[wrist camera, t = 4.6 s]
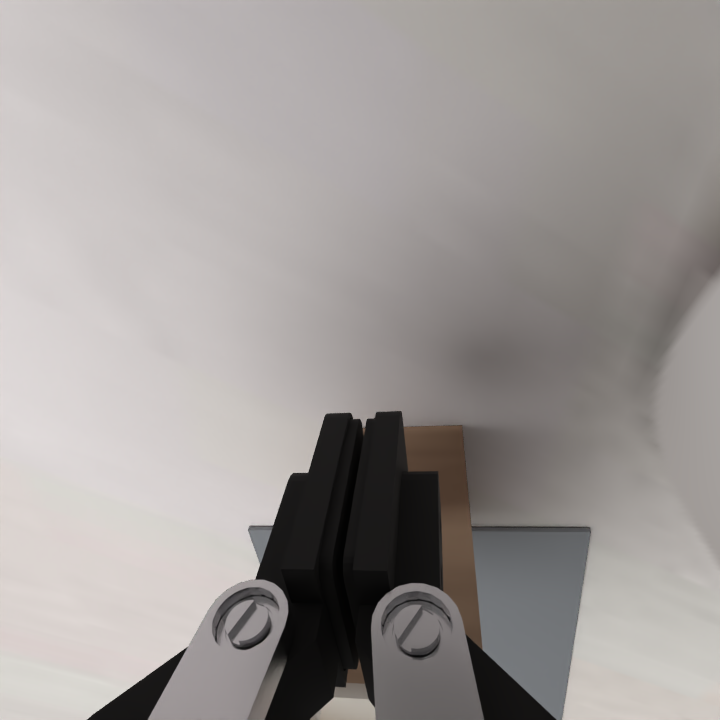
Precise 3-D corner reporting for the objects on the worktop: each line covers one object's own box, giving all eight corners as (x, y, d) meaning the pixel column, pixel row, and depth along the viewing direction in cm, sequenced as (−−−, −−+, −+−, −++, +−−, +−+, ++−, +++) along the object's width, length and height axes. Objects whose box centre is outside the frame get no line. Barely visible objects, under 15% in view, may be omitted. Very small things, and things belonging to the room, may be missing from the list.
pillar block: (337, 428, 18) (274, 693, 11) (462, 425, 18) (488, 706, 10) (353, 513, 21) (311, 781, 13) (464, 513, 20) (487, 797, 12)
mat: (249, 526, 22) (248, 530, 22) (589, 527, 20) (590, 531, 19) (313, 708, 30) (313, 712, 30) (559, 725, 28) (560, 729, 28)
